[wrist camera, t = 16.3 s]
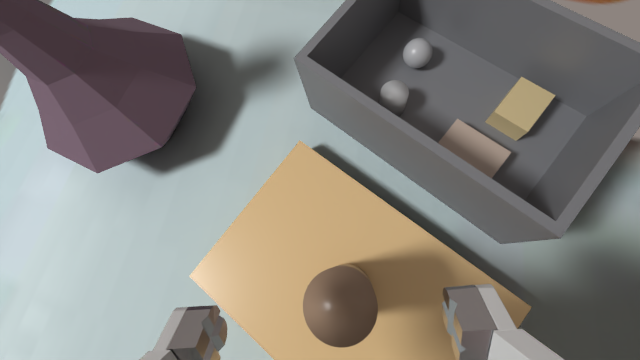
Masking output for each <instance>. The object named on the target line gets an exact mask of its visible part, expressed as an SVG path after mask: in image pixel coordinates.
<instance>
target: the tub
mask: <svg viewBox="0 0 640 360" xmlns="http://www.w3.org/2000/svg"><path fill="white" fill-rule="evenodd" d="M294 60H295V63H296V66H297V69H298V72H299V75H300V78H301V80H302V83H303V86H304V89H305V92H306V95H307V98H308V101H309V104H310V107H311V108H312V109H313V110H315V111H316V112H317V113H319V114H320V115H322V116H323V117H324V118H326V119H327V120H329V121H330V122H331V123H333V124H334V125H336V126H337V127H338V128H340V129H341V130H343V131H344V132H345V133H347V134H348V135H349V136H351V137H352V138H354V139H355V140H356V141H358V142H359V143H361V144H362V145H363V146H365V147H366V148H368V149H369V150H370V151H372V152H373V153H375V154H376V155H377V156H379V157H380V158H382V159H383V160H384V161H386V162H387V163H389V164H390V165H391V166H393V167H394V168H396V169H397V170H398V171H400V172H401V173H402V174H404V175H405V176H407V177H408V178H409V179H411V180H412V181H414V182H415V183H416V184H418V185H419V186H421V187H422V188H423V189H425V190H426V191H428V192H429V193H430V194H432V195H433V196H435V197H436V198H437V199H439V200H440V201H442V202H443V203H444V204H446V205H447V206H449V207H450V208H451V209H453V210H454V211H455V212H457V213H458V214H460V215H461V216H462V217H464V218H465V219H467V220H468V221H469V222H471V223H472V224H474V225H475V226H476V227H478V228H479V229H481V230H482V231H483V232H485V233H486V234H488V235H489V236H490V237H492V238H493V239H495V240H496V241H497V242H499V243H500V244H506V243H516V242H527V241H537V240H548V239H558V238H561V237H562V236H563V234H564V233H565V231H566V230H567V229H568V227H569V226H570V224H571V223H572V222H573V220H574V219H575V217H576V216H577V214H578V213H579V212H580V210H581V209H582V207H583V206H584V205H585V203H586V202H587V200H588V199H589V198H590V196H591V195H592V193H593V192H594V190H595V189H596V188H597V186H598V185H599V183H600V182H601V181H602V179H603V178H604V176H605V175H606V174H607V172H608V171H609V169H610V168H611V166H612V165H613V164H614V162H615V161H616V159H617V158H618V157H619V155H620V154H621V152H622V151H623V150H624V148H625V147H626V145H627V144H628V142H629V141H630V140H631V138H632V137H633V135H634V134H635V133H636V131H637V130H638V128H639V127H640V43H639V42H637V41H635V40H633V39H631V38H629V37H627V36H625V35H622V34H620V33H618V32H616V31H614V30H612V29H610V28H608V27H606V26H603V25H601V24H599V23H597V22H595V21H593V20H591V19H589V18H587V17H584V16H582V15H580V14H578V13H576V12H574V11H571V10H570V9H568V8H565V7H563V6H561V5H559V4H557V3H555V2H553V1H551V0H346V1H345V2H344V3H343V4H342V5H341V6H340V7H339V8H338V9H337V11H336V12H335V13H334V14H333V15H332V16H331V17H330V18H329V20H328V21H327V22H326V23H325V24H324V25H323V26H322V27H321V28H320V30H319V31H318V32H317V33H316V34H315V35H314V36H313V37H312V39H311V40H310V41H309V42H308V43H307V44H306V45H305V46H304V47H303V49H302V50H301V51H300V52H299V53H298V54H297V55H296V56H295V58H294Z"/></svg>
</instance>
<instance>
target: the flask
mask: <svg viewBox="0 0 640 360" xmlns="http://www.w3.org/2000/svg"><path fill="white" fill-rule="evenodd" d="M0 53H1V54H2V55H3V56H4V57H5V58H6V59H7V60H9V61H10V62H11V63H12V64H13V65H14V66H15V67H16V68H17V69H19V70H20V71H21V72H22V73H23V74H24V75H25V76H26V78H27V80H28V83H29V85H30V88H31V91H32V93H33V96H34V99H35V101H36V104H37V107H38V109H39V113H40V118H41V122H42V126H43V130H44V135H45V139H46V143H47V148H48V149H50V150H52V151H54V152H56V153H58V154H60V155H62V156H64V157H66V158H68V159H70V160H72V161H74V162H76V163H78V164H80V165H82V166H84V167H86V168H88V169H90V170H92V171H94V172H96V173H100V172H102V171H104V170H107V169H109V168H112V167H114V166H117V165H119V164H122V163H124V162H127V161H129V160H132V159H134V158H137V157H139V156H142V155H144V154H147V153H149V152H151V151H154V150H156V149H159V148H161V147H163V145H164V144H165V143H166V142H167V141H168V140H169V139H170V137H171V135H172V134H173V132H174V130H175V128H176V127H177V125H178V123H179V121H180V120H181V118H182V116H183V114H184V113H185V111H186V109H187V107H188V104H189V102H190V100H191V98H192V96H193V93H194V91H195V89H196V85H195V81H194V77H193V74H192V70H191V67H190V63H189V60H188V56H187V53H186V49H185V46H184V42H183V39H182V35H181V34H178V33H175V32H172V31H170V30H167V29H164V28H161V27H158V26H155V25H152V24H149V23H146V22H143V21H140V20H137V19H134V18H117V19H100V20H98V19H82V18H72V17H70V16H69V15H67V14H65V13H63V12H61V11H59V10H57V9H55V8H53V7H51V6H49V5H47V4H45V3H43V2H41V1H39V0H0Z"/></svg>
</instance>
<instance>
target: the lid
mask: <svg viewBox="0 0 640 360" xmlns="http://www.w3.org/2000/svg"><path fill="white" fill-rule="evenodd" d="M190 277H191V278H192V279H193V280H194V281H195V282H196V283H197V284H198V285H199V286H200V287H201V288H202V289H203V290H204V291H205V292H206V293H207V294H208V295H209V296H210V297H211V298H212V299H213V300H214V301H215V302H216V303H217V304H218V305H219V306H220V307H221V308H222V309H223V310H224V311H225V312H226V313H227V314H228V315H229V316H230V317H231V318H232V319H233V320H235V321H236V322H237V323H238V324H239V325H240V326H241V327H242V328H243V329H244V330H245V331H246V332H247V333H248V334H249V335H250V336H251V337H252V338H253V339H254V340H255V341H256V342H257V343H258V344H259V345H260V346H261V347H262V348H263V349H264V350H265V351H266V352H267V353H268V354H269V355H270V356H271V357H272V358H273V359H274V360H457V359H456V356H455V354H454V351H453V348H452V345H451V344H452V336H451V335H450V334H449V333H448V332H447V330H446V327H445V324H444V320H443V314H442V303H443V302H444V301H445V300H444V297H443V289H444V287H454V286H465V285H482V284H491V285H492V286H494V288H495V290H496V292H497V293H498V295H499V297H500V299H501V301H502V302H503V304H504V306H505V308H506V310H507V311H508V313H509V315H510V317H511V319H512V320H513V322H514V324H515V326H516V328H517V329H518V328H519V326H520V324H521V323H522V321H523V320H524V318H525V317H526V315H527V314H528V312H529V311H530V309H531V308H532V307H531V306H529V305H528V304H527V303H525V302H524V301H522V300H521V299H520V298H518V297H517V296H516V295H514V294H513V293H511V292H510V291H509V290H507V289H506V288H504V287H503V286H502V285H500V284H499V283H497V282H496V281H495V280H493V279H492V278H490V277H489V276H488V275H486V274H485V273H484V272H482V271H481V270H479V269H478V268H477V267H475V266H474V265H472V264H471V263H470V262H468V261H467V260H465V259H464V258H463V257H461V256H460V255H458V254H457V253H456V252H454V251H453V250H452V249H450V248H449V247H447V246H446V245H445V244H443V243H442V242H440V241H439V240H438V239H436V238H435V237H433V236H432V235H431V234H429V233H428V232H427V231H425V230H424V229H422V228H421V227H420V226H418V225H417V224H415V223H414V222H413V221H411V220H410V219H408V218H407V217H406V216H404V215H403V214H401V213H400V212H399V211H397V210H396V209H395V208H393V207H392V206H390V205H389V204H388V203H386V202H385V201H383V200H382V199H381V198H379V197H378V196H376V195H375V194H374V193H372V192H371V191H369V190H368V189H367V188H365V187H364V186H363V185H361V184H360V183H358V182H357V181H356V180H354V179H353V178H351V177H350V176H349V175H347V174H346V173H344V172H343V171H342V170H340V169H339V168H337V167H336V166H335V165H333V164H332V163H331V162H329V161H328V160H326V159H325V158H324V157H322V156H321V155H319V154H318V153H317V152H315V151H314V150H312V149H311V148H310V147H308V146H307V145H305V144H304V143H303V142H301V141H299V142H298V143H297V145H296V146H295V147H294V148H293V149H292V151H291V152H290V153H289V154H288V156H287V157H286V158H285V159H284V161H283V162H282V163H281V164H280V165H279V167H278V168H277V169H276V170H275V172H274V173H273V174H272V175H271V176H270V178H269V179H268V180H267V181H266V183H265V184H264V185H263V186H262V188H261V189H260V190H259V191H258V192H257V194H256V195H255V196H254V197H253V199H252V200H251V201H250V202H249V203H248V205H247V206H246V207H245V208H244V210H243V211H242V212H241V213H240V214H239V216H238V217H237V218H236V219H235V221H234V222H233V223H232V224H231V226H230V227H229V228H228V229H227V230H226V232H225V233H224V234H223V235H222V237H221V238H220V239H219V240H218V241H217V243H216V244H215V245H214V246H213V248H212V249H211V250H210V251H209V253H208V254H207V255H206V256H205V257H204V259H203V260H202V261H201V262H200V264H199V265H198V266H197V267H196V268H195V270H194V271H193V272H192V273H191V275H190Z"/></svg>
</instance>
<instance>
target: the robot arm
mask: <svg viewBox="0 0 640 360" xmlns="http://www.w3.org/2000/svg"><path fill="white" fill-rule="evenodd" d="M443 297H444V300H445V301H444V302H443V303H442V314H443V320H444V324H445V327H446V330H447V332H448V333H449V334H450V335H451V336H452V344H451V345H452V348H453V351H454V354H455V356H456V359H457V360H564V359H563V358H561V357H560V356H559V355H557V354H556V353H555V352H553V351H552V350H551V349H549V348H548V347H546V346H545V345H544V344H542V343H541V342H540V341H538V340H537V339H536V338H534V337H533V336H531V335H530V334H529V333H527V332H526V331H525V330H523V329H517V328H516V326H515V324H514V322H513V320H512V319H511V317H510V315H509V313H508V311H507V310H506V308H505V306H504V304H503V302H502V301H501V299H500V297H499V295H498V293H497V292H496V290H495V288H494V286H492V285H491V284H482V285H465V286H454V287H444V289H443ZM219 313H220V310H219V308H218V307H217V305H216V306H196V307H180V308H176V309H175V310H174V311H173V312H172V314H171V316H170V318H169V320H168V321H167V323H166V325H165V327H164V329H163V331H162V333H161V335H160V337H159V339H158V341H157V343H156V345H155V347H154V349H153V351H148V352H147V353H146V354H145V355H144V356H143V357H142V358H140V359H139V360H220V355H219V352H218V351H219V350H220V349H221V348H222V347H223V346H224V345H225V341H226V338H227V325H226V321H225V319H224V318H222V317H221V316H219Z"/></svg>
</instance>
